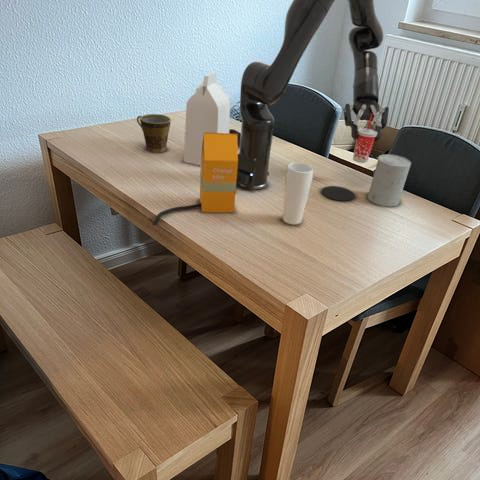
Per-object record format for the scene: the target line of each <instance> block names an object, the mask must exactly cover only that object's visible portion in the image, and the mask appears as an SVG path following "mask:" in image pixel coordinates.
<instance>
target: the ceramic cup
mask: <svg viewBox="0 0 480 480" xmlns="http://www.w3.org/2000/svg"><path fill="white" fill-rule="evenodd" d="M171 120H172V119H171V118H170V117H169V116H167V115H164V114H160V113H159V114H158V113H149V114H143V115H138V116H137V117H136V122H137V124H138V125H139V127H140V128H141V130H142V134H143V137H144V142H145V148H146V151H149V152H151V153H163V152H165V151H167V145H168V139H169V134H170V128H171Z"/></svg>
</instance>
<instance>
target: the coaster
mask: <svg viewBox="0 0 480 480" xmlns="http://www.w3.org/2000/svg"><path fill="white" fill-rule="evenodd" d="M321 194H322V195H323V196H324V197H325V198H327V199H329V200H332V201H336V202H349V201H353V199H354V198H355V194H354V192H353V191H352V190H350V189H348V188H345V187H342V186H337V185H330V186H325V187H322V189H321Z"/></svg>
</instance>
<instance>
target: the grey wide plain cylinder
mask: <svg viewBox="0 0 480 480" xmlns="http://www.w3.org/2000/svg"><path fill="white" fill-rule="evenodd" d="M411 166H412V162H411V160H410V159H408V158H406V157H404V156H401V155H397V154H392V153H387V154H386V153H385V154H384V153H383V154H380V155H379V156H378V157H377V162H376V165H375V169H374V172H373V176H372V180H371V184H370V186H369V190H368V191H369V192H368V194H367V200H368V201H369V202H371V203H373V204H375V205H378V206H382V207H388V208H390V207H396V206H398V205H399V204H400V199H401V196H402V194H403V190H404V187H405V184H406V181H407V177H408V175H409V171H410V168H411Z"/></svg>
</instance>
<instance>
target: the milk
mask: <svg viewBox="0 0 480 480" xmlns="http://www.w3.org/2000/svg"><path fill="white" fill-rule="evenodd" d="M185 107H186V108H185V125H184V126H185V127H184V145H183V147H184V148H183V163H187V164H192V165H197V166H201V149H202V143H203V136H204V133H229V129H230V126H231V125H230V124H231V123H230V121H231V100H230V97H229V96H228V95H227V93H226V92H225V91H224V89H223V88H222V87H221V86H220V85H219V83H218V82H217V72H213V71H211V72H209V73H207V74H205V75H204V76H203V81H202V83H201V84H200V85H199V86H197V88H196V89H195V92H194V93H193V94H192V95H191V96H190V97H189V98H188V100H187V101H186V106H185Z"/></svg>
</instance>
